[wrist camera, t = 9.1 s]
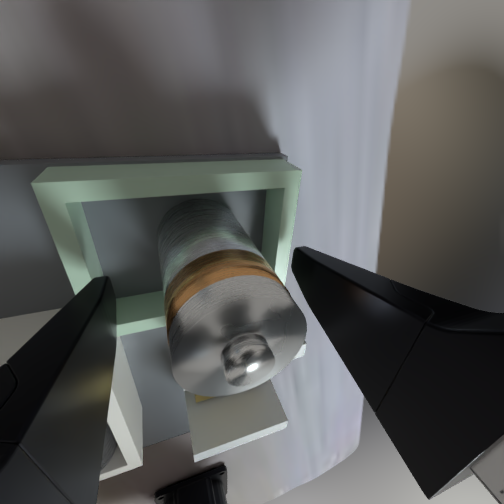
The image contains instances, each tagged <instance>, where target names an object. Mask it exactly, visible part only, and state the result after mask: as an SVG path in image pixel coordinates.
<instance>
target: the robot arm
mask: <svg viewBox="0 0 504 504" xmlns="http://www.w3.org/2000/svg"><path fill="white" fill-rule="evenodd" d="M291 268H292V272H293V274H294V276H295V278H296V280H297V283H298V285H299V287H300V289H301V291H302V293H303V295H304V297H305V299H306V301H307V303H308V305H309V307H310V308H311V310H312V312H313V313H314V315H315V317H316V318H317V320H318V321H319V323H320V325H321V326H322V328H323V330H324V331H325V333H326V334H327V336H328V338H329V339H330V341H331V343H332V344H333V346H334V347H335V349H336V351H337V352H338V354H339V356H340V357H341V359H342V361H343V362H344V364H345V365H346V367H347V369H348V370H349V372H350V374H351V375H352V377H353V378H354V380H355V382H356V383H357V385H358V387H359V388H360V390H361V392H362V393H363V395H364V396H365V398H366V400H367V401H368V403H369V405H370V406H371V408H372V409H373V411H374V412H375V415H376V416H377V418H378V419H379V421H380V423H381V424H382V426H383V428H384V429H385V431H386V433H387V434H388V436H389V437H390V439H391V441H392V442H393V444H394V446H395V447H396V449H397V450H398V452H399V454H400V455H401V457H402V459H403V460H404V462H405V463H406V465H407V467H408V468H409V470H410V472H411V473H412V475H413V476H414V478H415V480H416V481H417V483H418V485H419V486H420V488H421V490H422V491H423V492H424V494H425V495H426V497H427V498H428V499H429V500H430V499H431V498H433V497H435V496H437V495H438V494H440V493H442V492H444V491H445V490H447V489H449V488H451V487H452V486H454V485H456V484H458V483H459V482H461V481H462V480H465V479H466V478H468V477H470V476H472V475H473V474H474V475H475V476H476V477H477V478H478V479H479V480H480V482H481V483H482V484H483V485H484V487H485V488H486V489H487V490H488V491H489V492H490V494H491V495H492V496H493V497H494V498H495V500H496V501H497V502H498V503H499V504H504V313H495V312H488V311H483V310H479V309H475V308H472V307H469V306H466V305H462V304H460V303H457V302H454V301H450V300H448V299H445V298H442V297H439V296H435V295H433V294H430V293H427V292H424V291H421V290H418V289H415V288H412V287H410V286H407V285H404V284H401V283H399V282H396V281H394V280H390V279H388V278H386V277H383V276H381V275H378V274H376V273H373V272H370V271H368V270H365V269H363V268H360V267H358V266H355V265H352V264H350V263H347V262H345V261H342V260H339V259H337V258H334V257H332V256H329V255H327V254H324V253H321V252H319V251H316V250H314V249H311V248H308V247H306V246H302V247H296V248H295V249H294V252H293V258H292V264H291ZM116 346H117V317H116V296H115V293H114V289H113V286H112V283H111V279H110V277H109V276H101V277H95V278H93V279H92V280H91V281H90V282H89V283H88V284H87V285H86V286H85V287H84V288H82V289H81V290H80V291H79V292H78V293H77V294H76V295H75V296H74V297H73V298H72V299H71V300H70V301H69V302H68V303H67V304H66V305H65V306H64V307H63V308H62V309H61V310H59V311H58V312H57V313H56V314H55V315H54V316H53V317H52V318H51V319H50V320H49V321H48V322H47V323H46V324H45V325H44V326H43V327H42V328H41V329H40V330H39V331H38V332H36V333H35V334H34V335H33V336H32V337H31V338H30V339H29V340H28V341H27V342H26V343H25V344H24V345H23V346H22V347H21V348H20V349H19V350H18V351H17V352H16V353H15V354H13V355H12V356H11V357H10V358H9V359H8V360H7V362H6V363H7V364H6V363H5V364H3V365H2V366H1V367H0V504H96V502H97V495H98V487H99V479H100V471H101V464H102V456H103V448H104V440H105V433H106V425H107V417H108V409H109V402H110V394H111V386H112V378H113V371H114V363H115V355H116ZM226 494H227V469H226V466H221V467H219V468H216V469H214V470H211V471H209V472H206V473H203V474H201V475H198V476H196V477H193V478H191V479H188V480H186V481H183V482H181V483H178V484H176V485H173V486H170V487H168V488H165V489H163V490H160V491H158V492H156V493H155V502H156V504H227V500H226Z"/></svg>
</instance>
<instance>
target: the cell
mask: <svg viewBox="0 0 504 504" xmlns="http://www.w3.org/2000/svg"><path fill="white" fill-rule="evenodd" d="M157 242H158V251H159V260H160V269H161V278H162V287H163V296H164V312H165V321H166V330H167V339H168V345H169V349H170V358H171V367H172V373H173V376H174V378H175V380H176V382H177V383H178V384H179V385H180V386H181V387H182V388H183V389H185V390H186V391H188V392H190V393H193V394H196V395H201V396H209V397H218V396H227V395H232V394H237V393H240V392H244V391H246V390H249V389H252V388H254V387H256V386H258V385H260V384H262V383H264V382H266V381H268V380H269V379H271V378H272V377H274V376H275V375H277V374H278V373H279V372H280V371H282V370H283V369H284V368H285V367H286V366H287V365H288V364H289V363H290V362H291V361H292V360H293V359H294V358H295V356H296V355H297V354H298V352H299V350H300V349H301V347H302V345H303V343H304V340H305V337H306V331H307V323H306V319H305V317H304V314H303V313H302V311H301V310H300V308H299V307H298V306H297V304H296V303H295V301H294V300H293V298H292V297H291V295H290V293H289V291H288V290H287V289H286V287H285V286H284V284H283V283H282V282H281V280H280V279H279V277H278V276H277V274H276V273H275V272H274V270H273V269H272V267H271V266H270V265H269V263H268V262H267V261H266V260H265V259H264V257H263V256H262V254H261V253H260V251H259V250H258V249H257V247H256V246H255V244H254V243H253V242H252V240H251V239H250V237H249V236H248V234H247V233H246V232H245V230H244V229H243V227H242V226H241V224H240V223H239V222H238V220H237V219H236V217H235V216H234V215H233V213H232V212H231V211H230V210H229V209H228V208H227V207H226V206H225V205H223V204H222V203H220V202H218V201H215V200H211V199H206V198H196V199H190V200H186V201H184V202H181V203H179V204H178V205H176V206H174V207H173V208H172V209H170V210H169V211H168V212H167V213H166V215H165V216H164V217H163V219H162V221H161V222H160V225H159V228H158V232H157Z"/></svg>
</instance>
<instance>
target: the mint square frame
mask: <svg viewBox="0 0 504 504" xmlns="http://www.w3.org/2000/svg"><path fill="white" fill-rule="evenodd" d="M287 158H288V156H286V155H284V154H282V153H262V154H222V155H183V156H143V157H103V158H64V159H24V160H0V367H1V366H2V365H3V364H5V363H6V362H7V360H8V359H9V358H10V357H11V356H12V355H13V354H15V353H16V352H17V351H18V350H19V349H20V348H21V347H22V346H23V345H24V344H25V343H26V342H27V341H28V340H29V339H30V338H31V337H32V336H33V335H34V334H35V333H36V332H38V331H39V330H40V329H41V328H42V327H43V326H44V325H45V324H46V323H47V322H48V321H49V320H50V319H51V318H52V317H53V316H54V315H55V314H56V313H57V312H58V311H59V310H61V309H62V308H63V307H64V306H65V305H66V304H67V303H68V302H69V301H70V300H71V299H72V298H73V297H74V296H75V295H76V294H77V293H78V292H79V291H80V290H81V289H82V288H84V287H85V286H86V285H87V284H88V283H89V282H90V281H91V280H92V279H93V278H95V277H101V276H109V277H110V279H111V283H112V286H113V289H114V293H115V296H116V317H117V346H116V355H115V363H114V371H113V378H112V386H111V394H110V402H109V409H108V417H107V422H108V424H109V426H110V428H111V431H112V433H113V435H114V437H115V439H116V441H117V443H118V445H117V447H116V450H115V452H114V454H113V456H112V457H111V459H110V461H109V462H108V463H107V465H106V466H105V467H104V468H103V469H102V470H101V471H100V479H99V481H101V480H104V479H107V478H109V477H112V476H115V475H118V474H120V473H123V472H126V471H129V470H132V469H134V468H137V467H140V466H143V448H144V447H147V446H150V445H152V444H155V443H158V442H161V441H164V440H167V439H170V438H173V437H176V436H179V435H182V434H185V433H188V432H190V434H191V441H192V448H193V455H194V462H197V461H200V460H203V459H205V458H208V457H211V456H213V455H216V454H218V453H221V452H224V451H226V450H229V449H232V448H234V447H237V446H240V445H242V444H245V443H248V442H250V441H253V440H256V439H258V438H261V437H264V436H266V435H269V434H272V433H274V432H277V431H279V430H282V429H285V428H286V427H287V423H288V419H287V417H286V415H285V412H284V410H283V408H282V405H281V403H280V401H279V399H278V396H277V394H276V392H275V389H274V387H273V385H272V382H271V380H270V379H269V380H268V381H266V382H264V383H262V384H260V385H258V386H256V387H254V388H252V389H249V390H246V391H244V392H240V393H237V394H232V395H227V396H218V397H213V398H210V399H207V400H203V401H200V402H197V403H196V401H195V395H194V394H193V393H190V392H188V391H186V390H185V389H183V388H182V387H181V386H180V385H179V384H178V383H177V382H176V380H175V378H174V376H173V373H172V367H171V358H170V349H169V345H168V339H167V330H166V321H165V312H164V296H163V287H162V278H161V269H160V260H159V251H158V242H157V232H158V228H159V225H160V222H161V221H162V219H163V217H164V216H165V215H166V213H167V212H168V211H169V210H170V209H172V208H173V207H174V206H176V205H178V204H179V203H181V202H184V201H186V200H190V199H196V198H206V199H211V200H215V201H218V202H220V203H222V204H223V205H225V206H226V207H227V208H228V209H229V210H230V211H231V212H232V213H233V215H234V216H235V217H236V219H237V220H238V222H239V223H240V224H241V226H242V227H243V229H244V230H245V232H246V233H247V234H248V236H249V237H250V239H251V240H252V242H253V243H254V244H255V246H256V247H257V249H258V250H259V251H260V253H261V254H262V256H263V257H264V259H265V260H266V261H267V262H268V263H269V265H270V266H271V267H272V269H273V270H274V272H275V273H276V274H277V276H278V277H279V279H280V280H281V282H282V283H283V284H284V286H285V281H286V274H287V268H288V261H289V254H290V248H291V241H292V234H293V228H294V221H295V214H296V208H297V201H298V194H299V188H300V181H301V174H302V170H301V169H299V168H298V167H296V166H294V165H292V164H291V163H289V162H287ZM306 344H307V343H306V342H305V340H304V343H303V345H302V347H301V349H300V350H299V352H298V354H297V355H296V356H295V358H294V359H296V358H299V357H302V356H304V353H305V349H306ZM6 364H7V363H6Z"/></svg>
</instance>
